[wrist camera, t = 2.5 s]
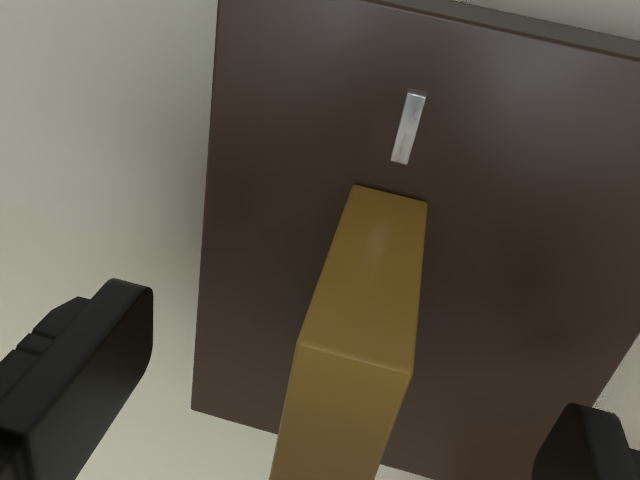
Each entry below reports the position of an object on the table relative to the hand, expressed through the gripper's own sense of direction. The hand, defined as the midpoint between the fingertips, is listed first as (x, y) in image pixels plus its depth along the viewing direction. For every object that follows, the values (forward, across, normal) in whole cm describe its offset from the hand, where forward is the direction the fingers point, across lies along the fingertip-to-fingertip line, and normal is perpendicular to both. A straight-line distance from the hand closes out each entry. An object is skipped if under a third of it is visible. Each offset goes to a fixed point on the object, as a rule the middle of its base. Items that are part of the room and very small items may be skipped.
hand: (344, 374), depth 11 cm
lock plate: (+5, -1, 0) cm, 5 cm away
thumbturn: (+3, 0, 0) cm, 3 cm away
